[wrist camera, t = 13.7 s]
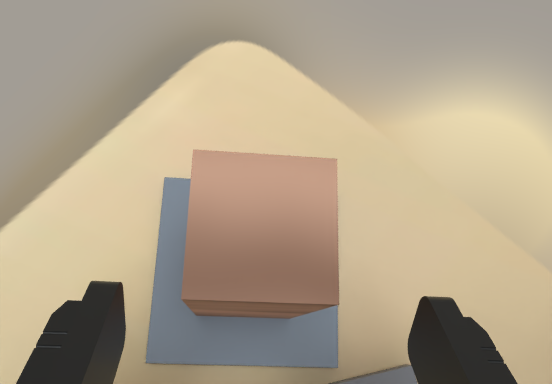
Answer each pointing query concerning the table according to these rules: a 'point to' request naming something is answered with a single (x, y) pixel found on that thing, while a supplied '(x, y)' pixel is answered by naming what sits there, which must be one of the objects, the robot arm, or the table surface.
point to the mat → (224, 330)
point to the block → (261, 235)
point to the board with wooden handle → (384, 377)
